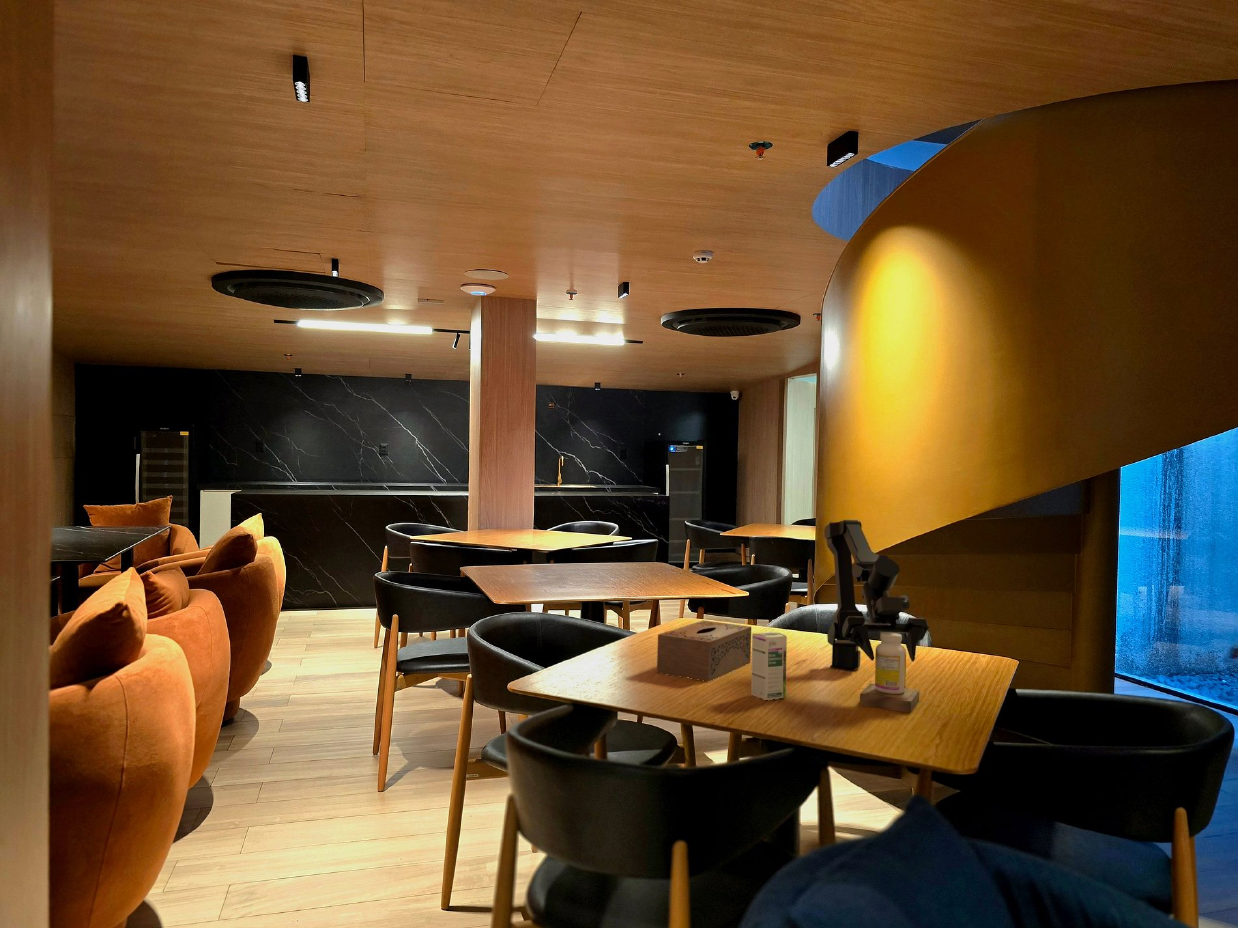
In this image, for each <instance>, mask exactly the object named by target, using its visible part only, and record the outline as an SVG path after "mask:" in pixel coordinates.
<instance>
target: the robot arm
mask: <svg viewBox="0 0 1238 928" xmlns="http://www.w3.org/2000/svg"><path fill="white" fill-rule="evenodd" d="M862 528H863V525H862V522H861V521H860V520H857V519H842V520H840V521H836V522H835V521H830V522H829V523H828V524H826V525H825V526H824V529H823V532H824V539H826V540H825V541H826V546H827V548H828V549H829V551H830V552H831V554H832V555H833V561H834V563H833V564H834V573H835V574H834V577H835V589H836V603H837V609H836V610H835V613H834V614H833V616H832V622H831V624H830V626H829V630H828V632H827V634H826V636H827V637H826V638H827V643H828V644H830V645H831V646H832V647H831V648H832V650H831V652H832V653H831V665H829V668H831V669H836V670H842V671H849V672H855V671H856V670H858V669H859V668H860V667H861V651H863V653H864V654H865V655H866V656H867V657H868V659H870V661H875V653H874V650H873V649H874V648H873V646H872V643H871V640H870V637H869V632H871V633H872V632H875V633H876V632H877V633H897V634H903V636H904V639H905V640H904V644H905V647H906V651H907V653H908V655H909V656H908V657H909V658H910V660H911V662H915V660H916V653H917V644H918V643H919V642H920V641H922V640H924V638H925V636H926V634H927V632H928V630H929V628H930V625H929V622H928V620H927V619H926V618H924V617H908V619H907V621H906V623H898V622H897V621H899V619H900V618H901V615H900V613H903V612H904V611H905V612H906V611H908V610H909V609H910V608H911V603H910V599H909V596H908V595H905V594H904V595H899V596H890V594H889V591H891V590H892V588H893V586H894V584H895V582H896V580H897V578H898V575H899V573H900V566H899V564H898V563H897V562H895V561H894V560H893V559H891V558H889V557H888V554H877V553H875V552H873V551H872V548H871V546H870V544H869V542H868V540H867V538H866V535H865V533H864V531H863V529H862ZM852 558H853V559H852ZM854 580H855V581H856V582H857V583H863V586H861V587H862V588H861V591H862V592H861V598H862V599H864V601H865V602H864V603H865V606H866V607H865V608H866V613H865V615H866V617H867V618H869V619H868V620H869V622H868V621H866V619H865V616H864V613H863V612H862V610H859V609H858V607H857V606H856V595H855V582H854ZM859 648H860V649H861V650H859Z"/></svg>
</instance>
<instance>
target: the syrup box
mask: <svg viewBox="0 0 1238 928" xmlns="http://www.w3.org/2000/svg"><path fill="white" fill-rule="evenodd" d="M787 643H788V638H787V635H785V634H784V633H780V632H777V631H767V632H766V631H765V632H756V633H754V632H753V633H751V687H750V688H751V691H750V692H751V695H752V696H753V697H755V696H756V697H755V698H757V697H758V698H757V699H759V698H762V699H764V700H763V701H765V700H768V701H774V700H773V699H775V700H780V699H779V698H785V699H786V697H787V696H786V695H787V693H786V692H787V652H788V651H787V645H788V644H787ZM762 699H761V700H762Z"/></svg>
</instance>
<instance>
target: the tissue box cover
mask: <svg viewBox="0 0 1238 928" xmlns="http://www.w3.org/2000/svg"><path fill="white" fill-rule="evenodd" d="M751 661H752V626H748V625H741V624H735V623H726V622H725V623H724V622H718V621H710V620H701V621H696V622H694V623H690V624H687V625H683V626H681V627H678V628H675V629H671V630H668V631H666V632H662V633H659V634H657V656H656V673H657V672H658V673H657V674H660V673H662V674H661V675H665V674H668V675H667V676H671V675H674V676H673V677H677V676H681V677H680V678H682V677H689V678H692V679H691V680H694V679H699V680H704V681H703V682H705V681H710V682H712V681H714V680H713V679H715V680H716V678H717V679H718V677H719V678H721V677H723V676H725V675H727V674H729V672H730V673H732V672H734V671H736V670H739V669H740V668H743V667H745V666H747V665H749V664H751ZM746 664H747V665H746ZM742 666H743V667H742ZM733 670H734V671H733ZM699 680H698V681H699ZM711 680H712V681H711Z"/></svg>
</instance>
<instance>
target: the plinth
mask: <svg viewBox="0 0 1238 928" xmlns="http://www.w3.org/2000/svg"><path fill="white" fill-rule="evenodd" d="M919 702H920V690H919V689H911V688H906V689H905V692H904V693H901V694H887V693H883V692H879V691H877V690H876V688H875V683H871V682H870V683H869V684H868V685H867V686H866V687H865V688H864V689H863V690H862V691H861V692H860V693H859V705H860V706H865V707H870V708H877V707H879V708H878V709H884V710H889V709H890V710H891V711H896V712H903V713H910V714H912V713H913V711H914V710H915V708H916V707H917V705H918V704H919Z"/></svg>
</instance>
